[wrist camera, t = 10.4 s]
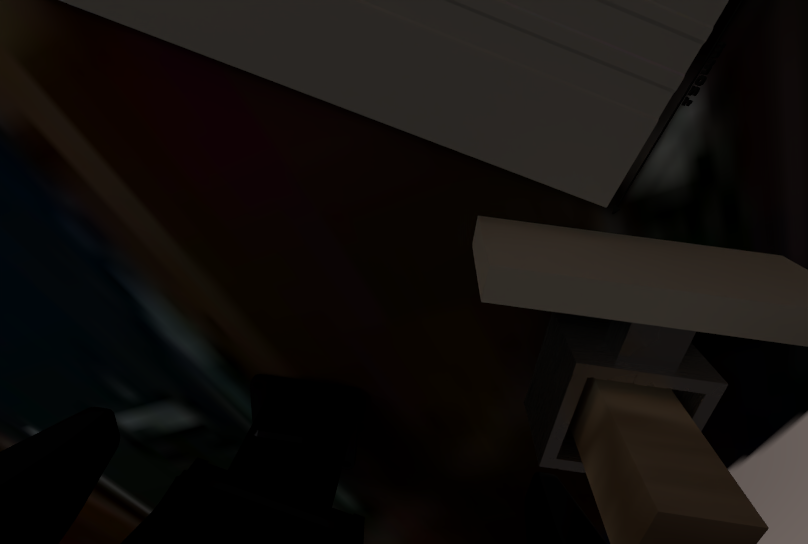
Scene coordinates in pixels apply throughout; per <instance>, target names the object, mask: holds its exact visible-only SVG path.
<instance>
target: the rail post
mask: <svg viewBox="0 0 808 544" xmlns="http://www.w3.org/2000/svg"><path fill="white" fill-rule="evenodd" d="M569 426H570V429H571V432H572V434H573V437H574V440H575V443H576V446H577V449H578V452H579V455H580V457H581V460H582V463H583V466H584V469H585V472H586V475H587V477H588V480H589V483H590V486H591V489H592V492H593V495H594V498H595V500H596V503H597V506H598V509H599V512H600V515H601V518H602V520H603V523H604V526H605V529H606V532H607V535H608V538H609V540H610V543H611V544H757V542H758V541H759V540H760V538H761V537H762V536H763V535H764V534H765V532H766V531H767V530H768V526H767V525H766V524H765V522H764V521H763V520H762V518H761V516H760V515H759V514H758V512H757V511H756V509H755V508H754V507H753V505H752V504H751V502H750V501H749V499H748V498H747V497H746V495H745V494H744V492H743V491H742V490H741V488H740V487H739V485H738V484H737V482H736V481H735V479H734V478H733V477H732V475H731V474H730V472H729V471H728V469H727V468H726V467H725V465H724V464H723V462H722V461H721V460H720V458H719V457H718V455H717V454H716V452H715V451H714V450H713V448H712V447H711V445H710V444H709V442H708V441H707V440H706V438H705V437H704V435H703V434H702V433H701V431H700V430H699V428H698V427H697V425H696V424H695V423H694V421H693V420H692V418H691V417H690V415H689V414H688V413H687V411H686V410H685V408H684V407H683V405H682V404H681V403H680V401H679V400H678V398H677V397H676V396H675V394H674V393H673V391H672V390H671V389H667V388H659V387H652V386H645V385H638V384H631V383H624V382H617V381H610V380H603V379H596V378H589V377H587V380H586V382H585V385H584V388H583V390H582V393H581V395H580V398H579V401H578V403H577V406H576V408H575V411H574V414H573V416H572V419H571V421H570V424H569Z"/></svg>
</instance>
